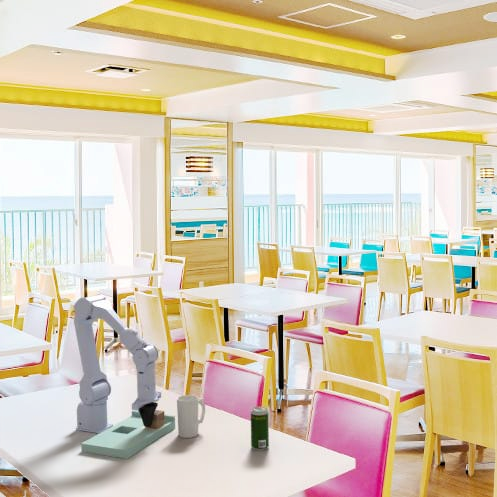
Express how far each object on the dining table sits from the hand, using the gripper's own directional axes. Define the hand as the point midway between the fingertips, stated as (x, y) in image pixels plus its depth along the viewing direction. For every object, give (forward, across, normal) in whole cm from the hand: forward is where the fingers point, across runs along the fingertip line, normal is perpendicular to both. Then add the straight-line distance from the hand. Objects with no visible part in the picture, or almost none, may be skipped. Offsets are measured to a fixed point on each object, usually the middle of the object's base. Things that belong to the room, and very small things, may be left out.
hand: (147, 426), depth 226 cm
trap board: (+4, -3, +4) cm, 7 cm away
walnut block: (+1, +4, 0) cm, 4 cm away
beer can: (+4, +4, -37) cm, 37 cm away
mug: (+4, +8, -12) cm, 15 cm away
